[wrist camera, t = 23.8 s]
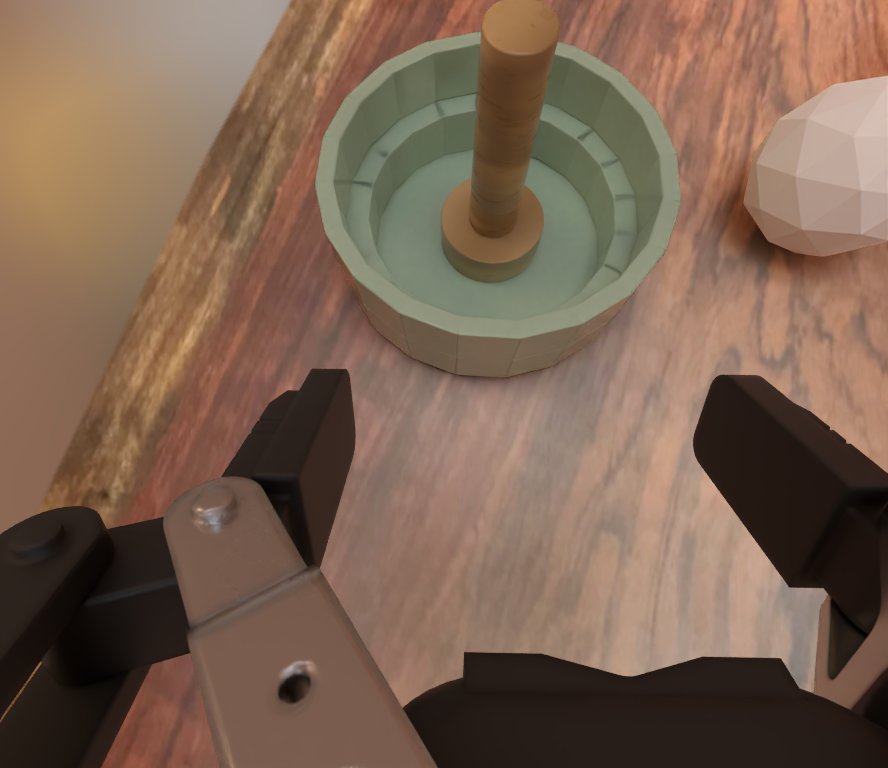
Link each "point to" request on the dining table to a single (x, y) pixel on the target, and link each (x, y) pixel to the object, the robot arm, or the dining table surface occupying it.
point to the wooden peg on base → (503, 146)
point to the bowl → (450, 163)
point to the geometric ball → (825, 172)
